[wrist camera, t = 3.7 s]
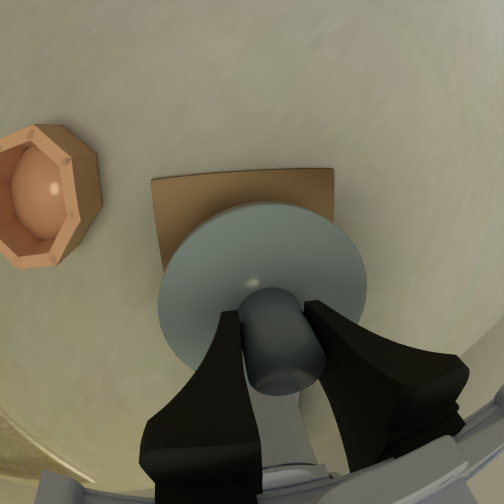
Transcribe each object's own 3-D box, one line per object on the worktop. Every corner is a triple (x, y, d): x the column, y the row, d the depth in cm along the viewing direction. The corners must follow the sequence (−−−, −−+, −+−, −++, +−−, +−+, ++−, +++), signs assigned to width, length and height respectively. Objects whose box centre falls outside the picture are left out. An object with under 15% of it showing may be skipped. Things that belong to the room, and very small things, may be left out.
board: (322, 314, 21) (325, 319, 21) (178, 331, 20) (177, 336, 19) (330, 168, 17) (334, 169, 17) (152, 179, 16) (150, 180, 15)
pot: (109, 240, 17) (90, 262, 14) (21, 252, 16) (-4, 272, 13) (94, 116, 14) (69, 112, 10) (3, 146, 13) (-27, 151, 10)
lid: (344, 357, 16) (375, 412, 12) (181, 380, 15) (179, 447, 10) (366, 196, 12) (430, 227, 8) (143, 212, 11) (108, 256, 7)
